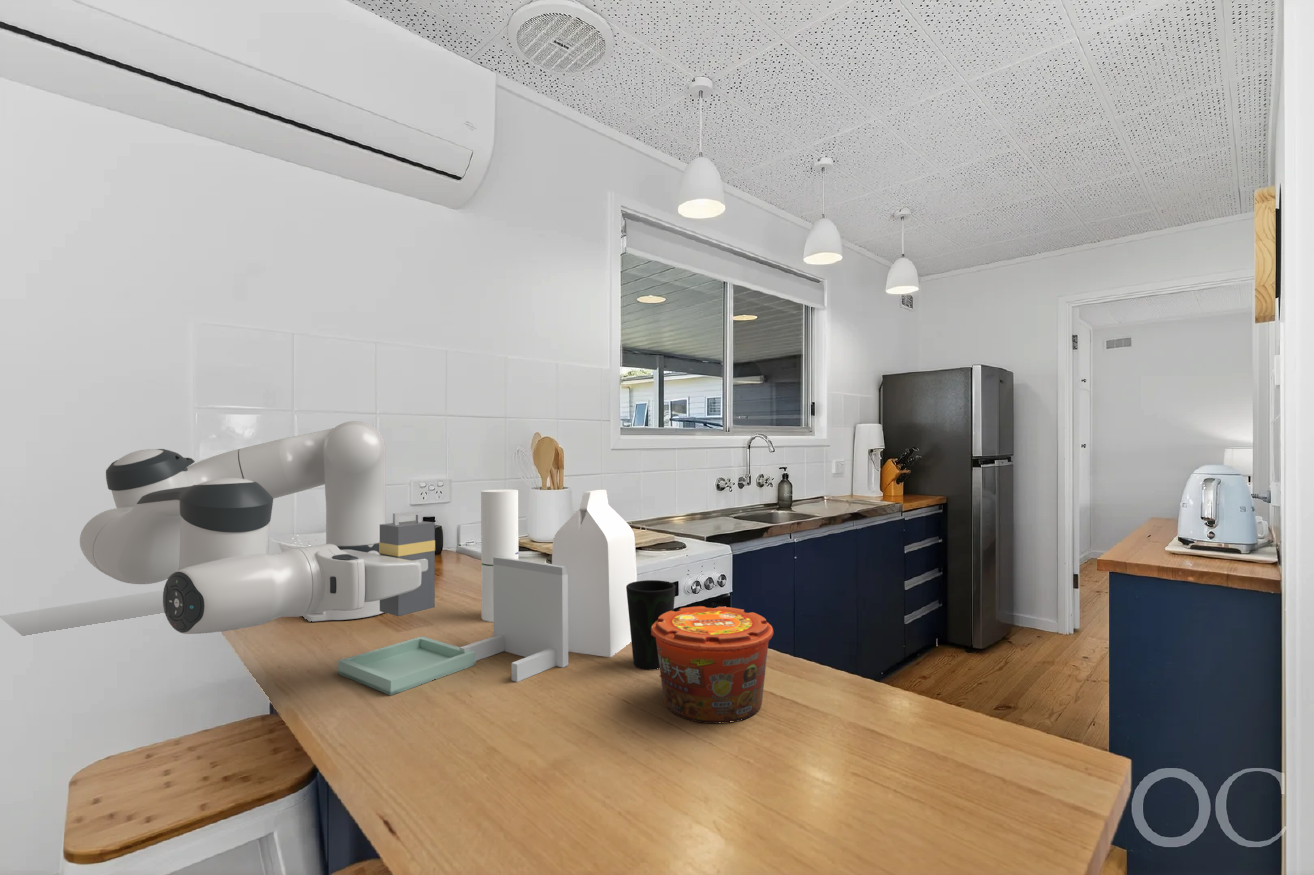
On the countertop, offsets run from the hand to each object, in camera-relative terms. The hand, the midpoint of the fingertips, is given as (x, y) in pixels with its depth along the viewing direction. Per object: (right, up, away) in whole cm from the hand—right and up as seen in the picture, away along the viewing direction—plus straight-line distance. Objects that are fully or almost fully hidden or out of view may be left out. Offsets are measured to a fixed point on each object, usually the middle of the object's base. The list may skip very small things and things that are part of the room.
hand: (412, 561), depth 93 cm
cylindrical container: (+6, -17, +28) cm, 33 cm away
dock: (+14, -16, +1) cm, 22 cm away
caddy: (-1, -7, -1) cm, 7 cm away
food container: (+45, -16, -13) cm, 49 cm away
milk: (+27, -16, +12) cm, 34 cm away
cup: (+37, -16, +1) cm, 40 cm away
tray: (0, -16, -1) cm, 16 cm away
